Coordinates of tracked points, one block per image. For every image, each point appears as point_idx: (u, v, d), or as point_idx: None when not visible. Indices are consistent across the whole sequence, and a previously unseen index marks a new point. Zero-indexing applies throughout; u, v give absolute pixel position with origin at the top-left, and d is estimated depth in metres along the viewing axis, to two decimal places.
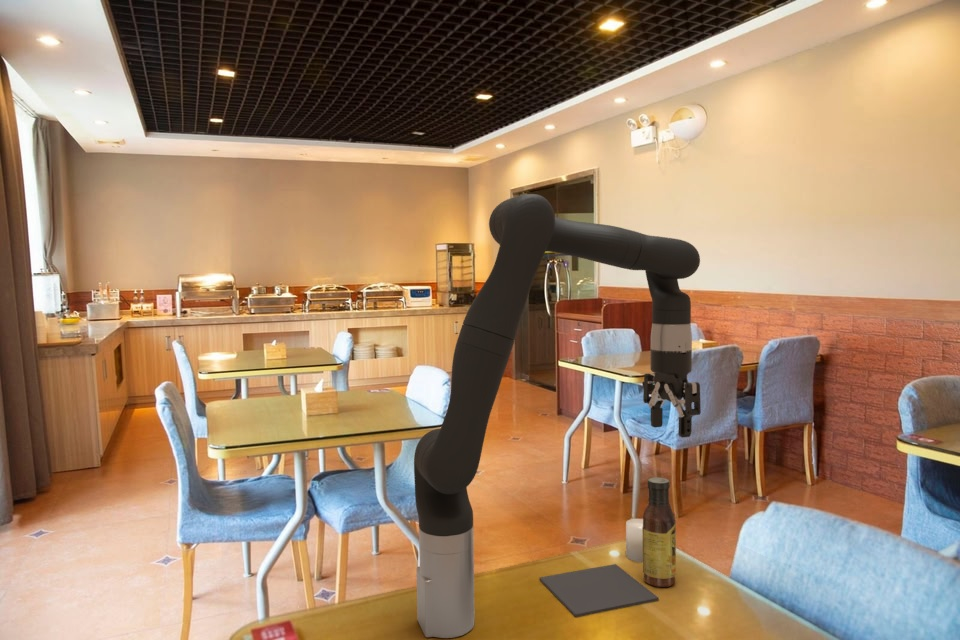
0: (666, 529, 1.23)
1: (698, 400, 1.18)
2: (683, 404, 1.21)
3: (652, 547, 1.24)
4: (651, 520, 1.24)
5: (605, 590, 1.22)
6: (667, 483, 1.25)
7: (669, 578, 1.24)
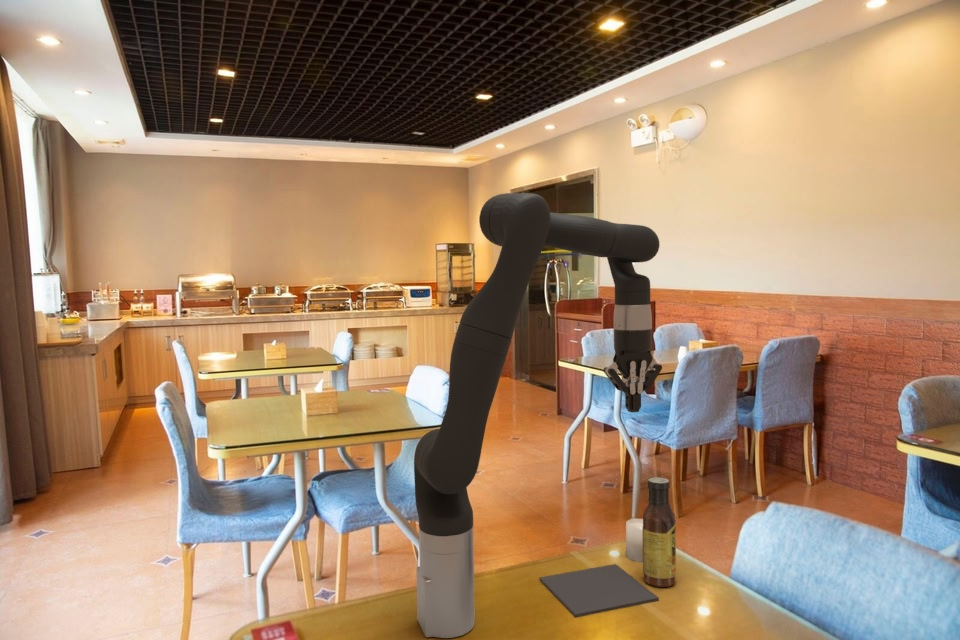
0: (666, 529, 1.23)
1: None
2: None
3: (652, 547, 1.24)
4: (651, 520, 1.24)
5: (605, 590, 1.22)
6: (667, 483, 1.25)
7: (669, 578, 1.24)
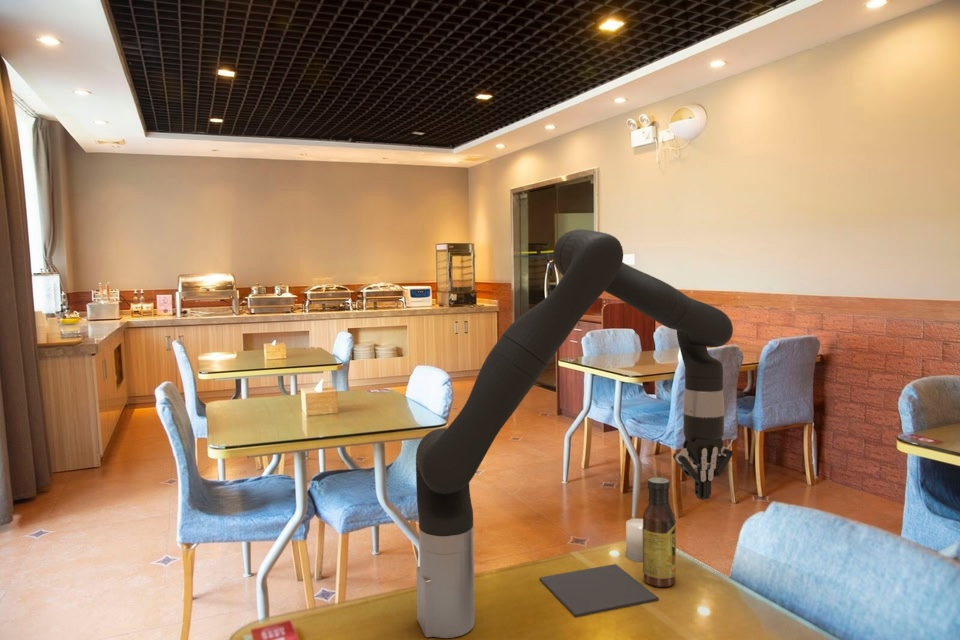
0: (666, 529, 1.23)
1: (718, 463, 1.31)
2: None
3: (652, 547, 1.24)
4: (651, 520, 1.24)
5: (605, 590, 1.22)
6: (667, 483, 1.25)
7: (669, 578, 1.24)
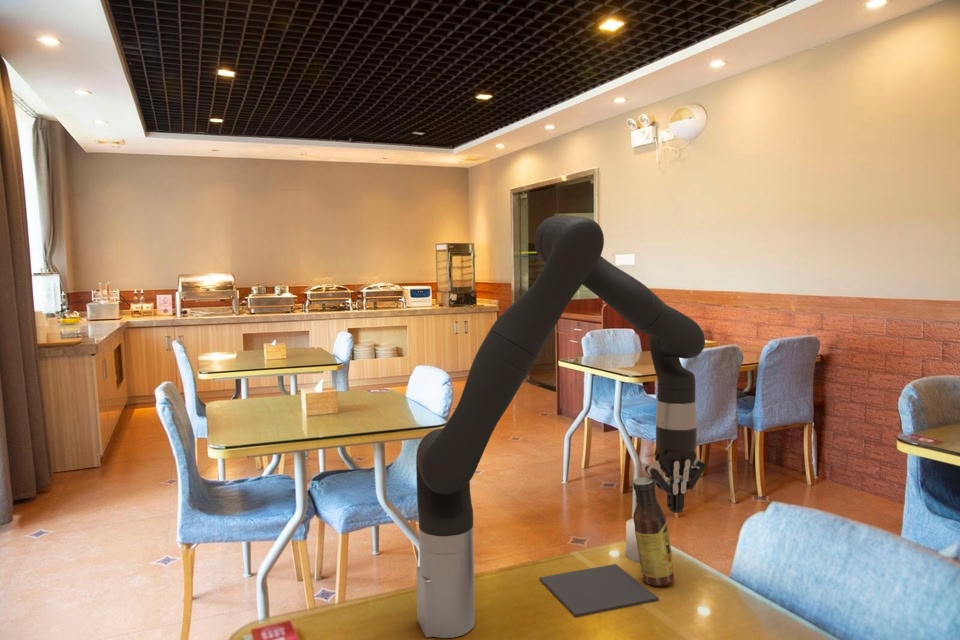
0: (657, 528, 1.23)
1: (692, 475, 1.29)
2: None
3: (646, 548, 1.24)
4: (642, 522, 1.23)
5: (605, 590, 1.22)
6: (652, 483, 1.24)
7: (668, 576, 1.24)
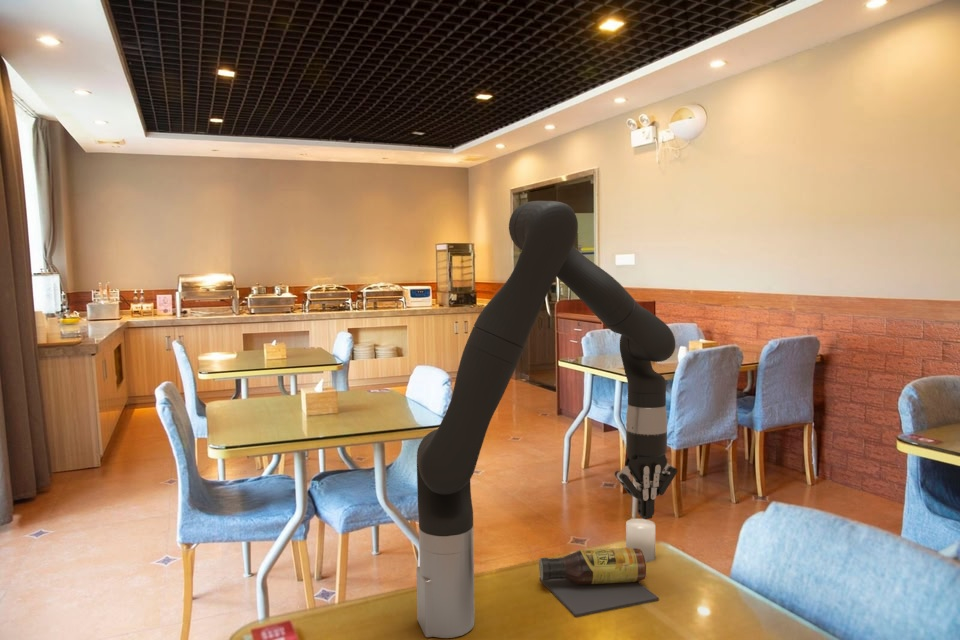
0: (588, 571, 1.22)
1: None
2: None
3: (606, 582, 1.23)
4: (580, 583, 1.23)
5: (605, 590, 1.22)
6: (543, 566, 1.23)
7: (638, 565, 1.23)
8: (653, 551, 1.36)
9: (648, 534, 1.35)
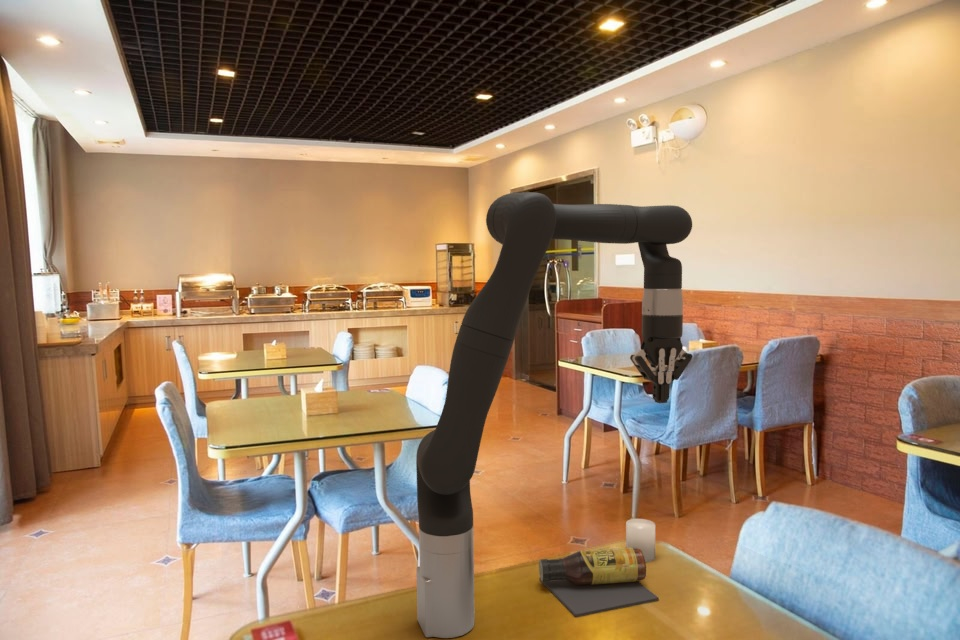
0: (588, 572, 1.22)
1: None
2: None
3: (606, 582, 1.23)
4: (579, 583, 1.23)
5: (605, 590, 1.22)
6: (543, 568, 1.23)
7: (638, 566, 1.23)
8: (653, 551, 1.36)
9: (648, 534, 1.35)
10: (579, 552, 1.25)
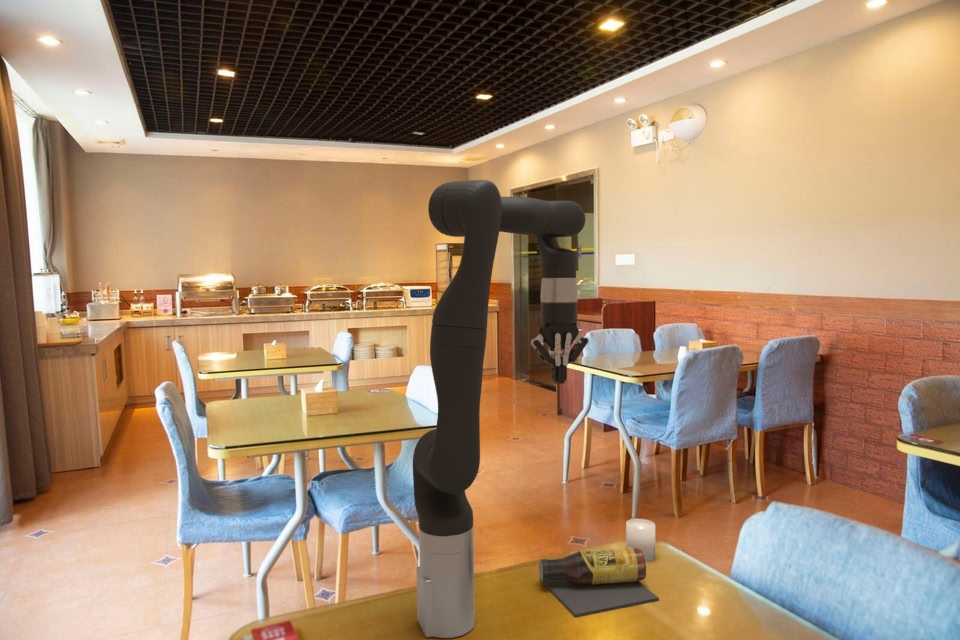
0: (588, 572, 1.22)
1: None
2: None
3: (606, 582, 1.23)
4: (579, 583, 1.23)
5: (605, 590, 1.22)
6: (543, 568, 1.23)
7: (638, 566, 1.23)
8: (653, 551, 1.36)
9: (648, 534, 1.35)
10: (579, 552, 1.25)
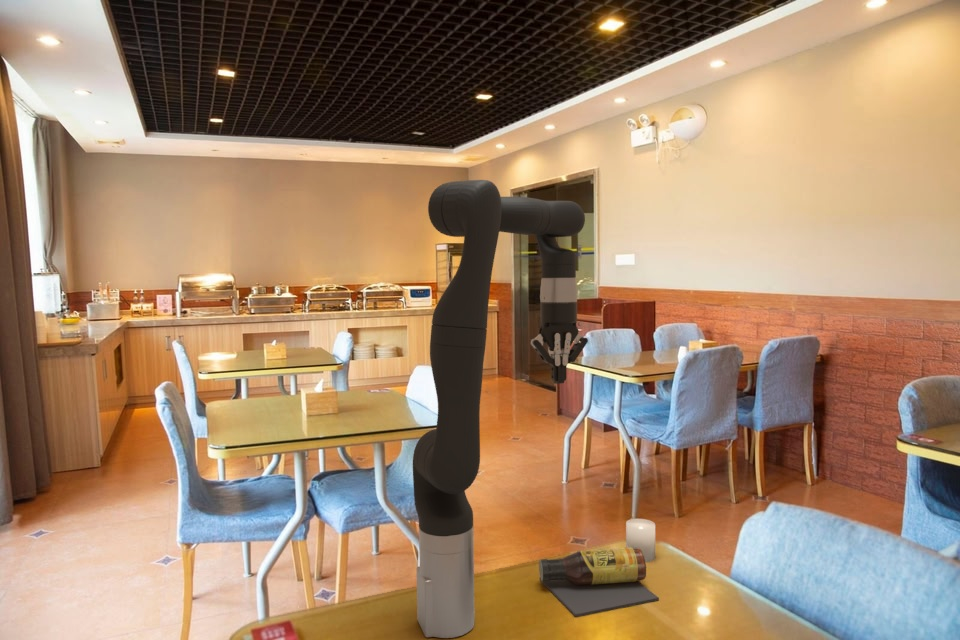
0: (588, 572, 1.22)
1: None
2: None
3: (606, 582, 1.23)
4: (579, 583, 1.23)
5: (605, 590, 1.22)
6: (543, 568, 1.23)
7: (638, 566, 1.23)
8: (653, 551, 1.36)
9: (648, 534, 1.35)
10: (579, 552, 1.25)
